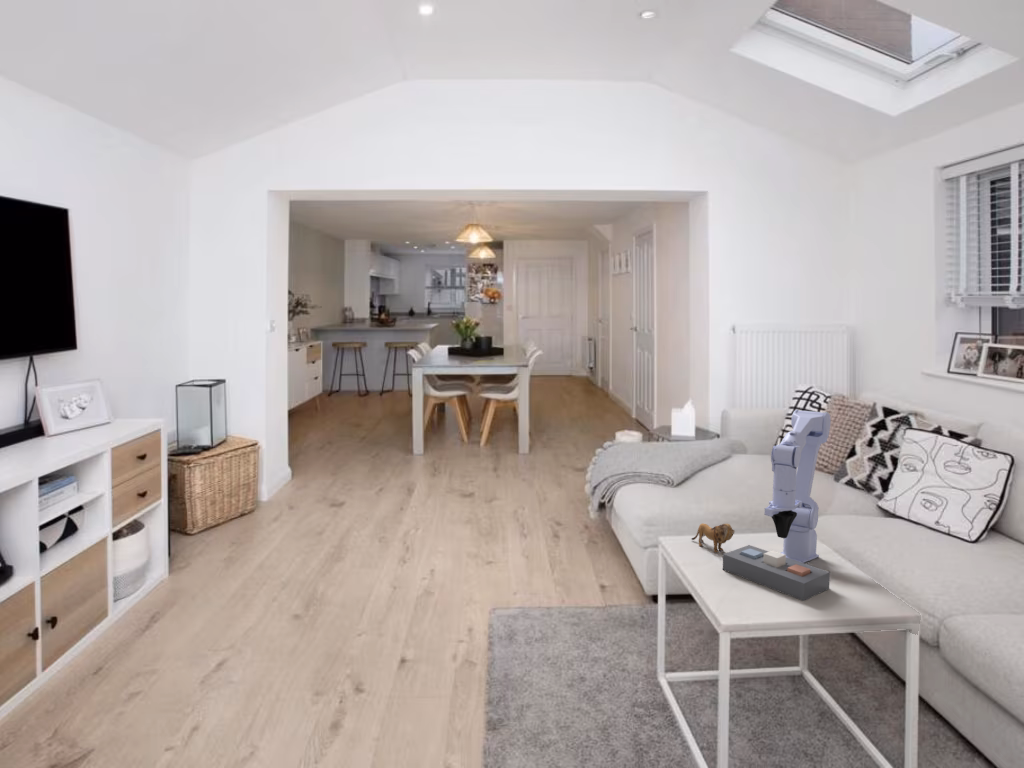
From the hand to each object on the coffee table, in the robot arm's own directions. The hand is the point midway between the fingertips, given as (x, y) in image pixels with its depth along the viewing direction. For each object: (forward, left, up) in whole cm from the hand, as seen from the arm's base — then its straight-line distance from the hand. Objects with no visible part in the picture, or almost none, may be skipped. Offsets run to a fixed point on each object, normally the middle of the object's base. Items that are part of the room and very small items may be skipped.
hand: (782, 537), depth 173 cm
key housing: (+5, +1, -10) cm, 11 cm away
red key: (+5, +8, -8) cm, 12 cm away
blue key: (+5, -6, -8) cm, 11 cm away
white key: (+5, +1, -6) cm, 8 cm away
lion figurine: (-1, -23, -11) cm, 26 cm away
